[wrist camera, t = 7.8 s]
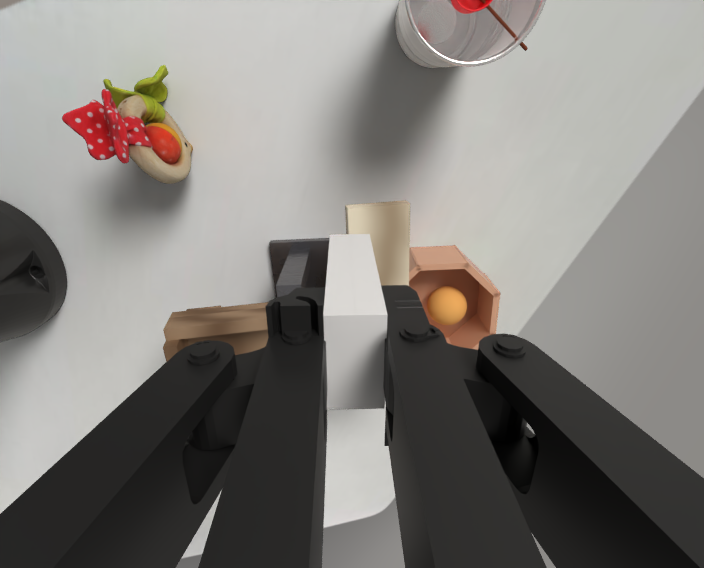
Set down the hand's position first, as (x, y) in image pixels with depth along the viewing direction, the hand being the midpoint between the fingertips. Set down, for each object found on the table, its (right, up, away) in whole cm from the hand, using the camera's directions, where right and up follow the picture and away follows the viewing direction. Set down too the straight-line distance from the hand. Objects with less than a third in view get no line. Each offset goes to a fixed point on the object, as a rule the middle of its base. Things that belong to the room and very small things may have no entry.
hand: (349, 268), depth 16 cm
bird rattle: (-17, +14, +22) cm, 31 cm away
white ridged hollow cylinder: (+7, +21, +19) cm, 30 cm away
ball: (+10, -3, +27) cm, 29 cm away
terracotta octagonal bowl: (+9, -2, +29) cm, 30 cm away
